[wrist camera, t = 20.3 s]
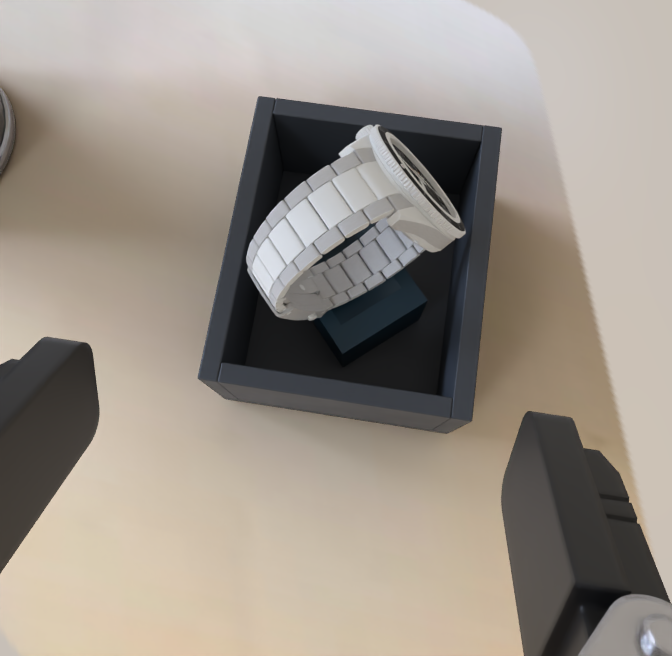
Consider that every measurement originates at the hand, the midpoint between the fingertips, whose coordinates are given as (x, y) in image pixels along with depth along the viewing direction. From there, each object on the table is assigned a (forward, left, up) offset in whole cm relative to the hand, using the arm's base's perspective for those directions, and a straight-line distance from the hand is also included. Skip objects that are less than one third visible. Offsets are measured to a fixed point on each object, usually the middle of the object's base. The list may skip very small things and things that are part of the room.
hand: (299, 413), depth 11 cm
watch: (0, +8, -17) cm, 19 cm away
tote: (0, +8, -18) cm, 19 cm away
